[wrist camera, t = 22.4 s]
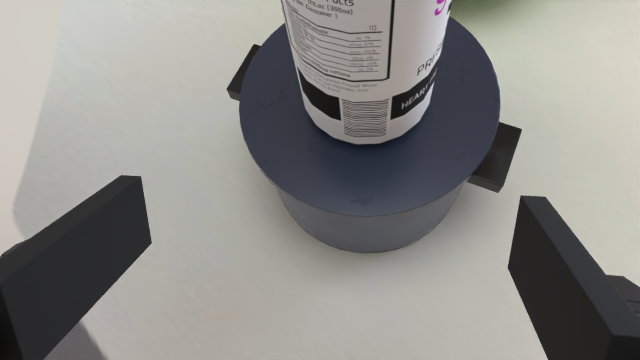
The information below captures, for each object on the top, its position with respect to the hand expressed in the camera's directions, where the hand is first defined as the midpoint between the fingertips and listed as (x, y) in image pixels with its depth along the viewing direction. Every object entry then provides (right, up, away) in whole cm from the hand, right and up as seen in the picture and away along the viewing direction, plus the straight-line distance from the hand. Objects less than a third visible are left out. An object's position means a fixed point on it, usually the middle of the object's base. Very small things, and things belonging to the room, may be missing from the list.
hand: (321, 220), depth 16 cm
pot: (+4, +3, +24) cm, 25 cm away
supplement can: (+3, +7, +14) cm, 16 cm away
